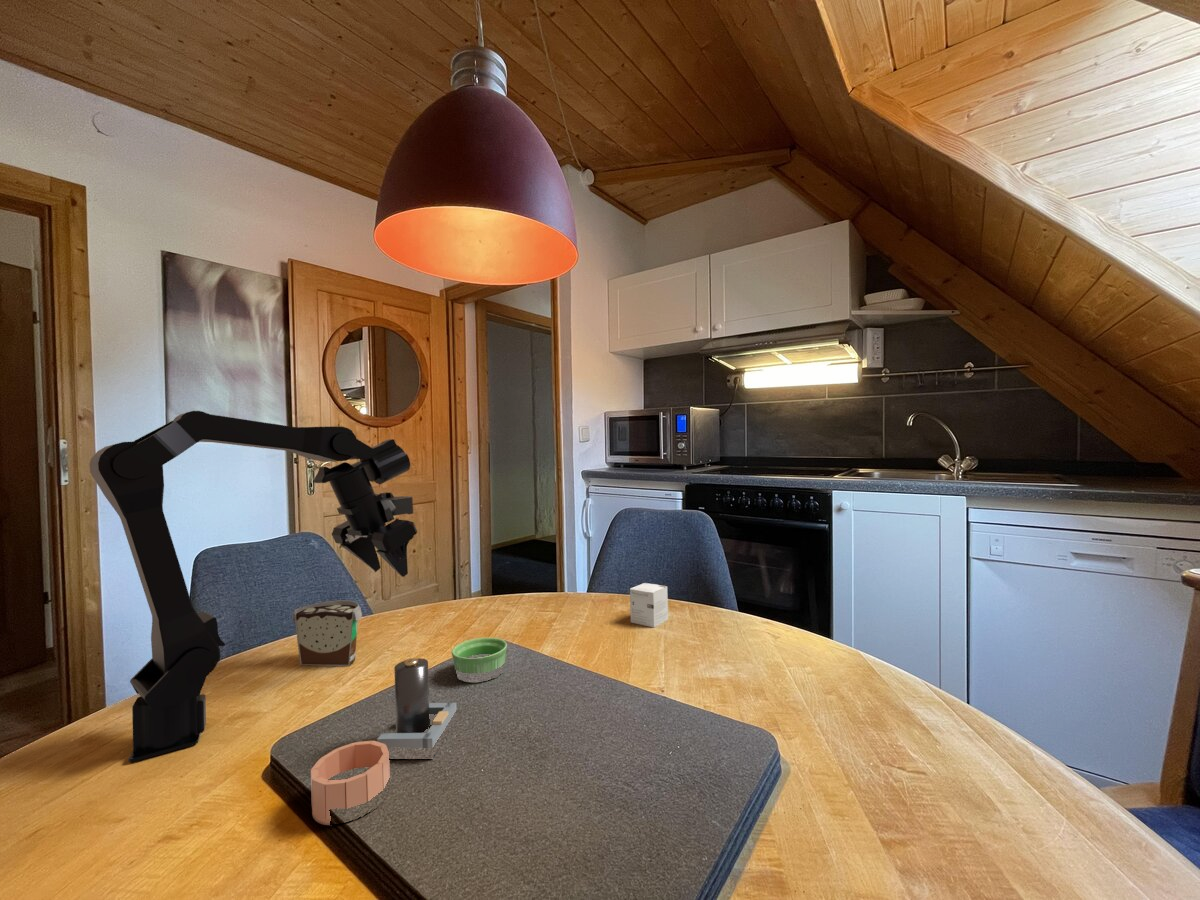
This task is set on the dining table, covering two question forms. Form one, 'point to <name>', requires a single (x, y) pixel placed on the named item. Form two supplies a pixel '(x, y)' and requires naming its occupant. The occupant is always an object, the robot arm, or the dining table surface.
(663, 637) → the dining table surface
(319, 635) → the food container
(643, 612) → the skincare box
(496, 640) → the ramekin
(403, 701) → the cylinder
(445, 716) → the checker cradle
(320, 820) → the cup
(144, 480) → the robot arm
